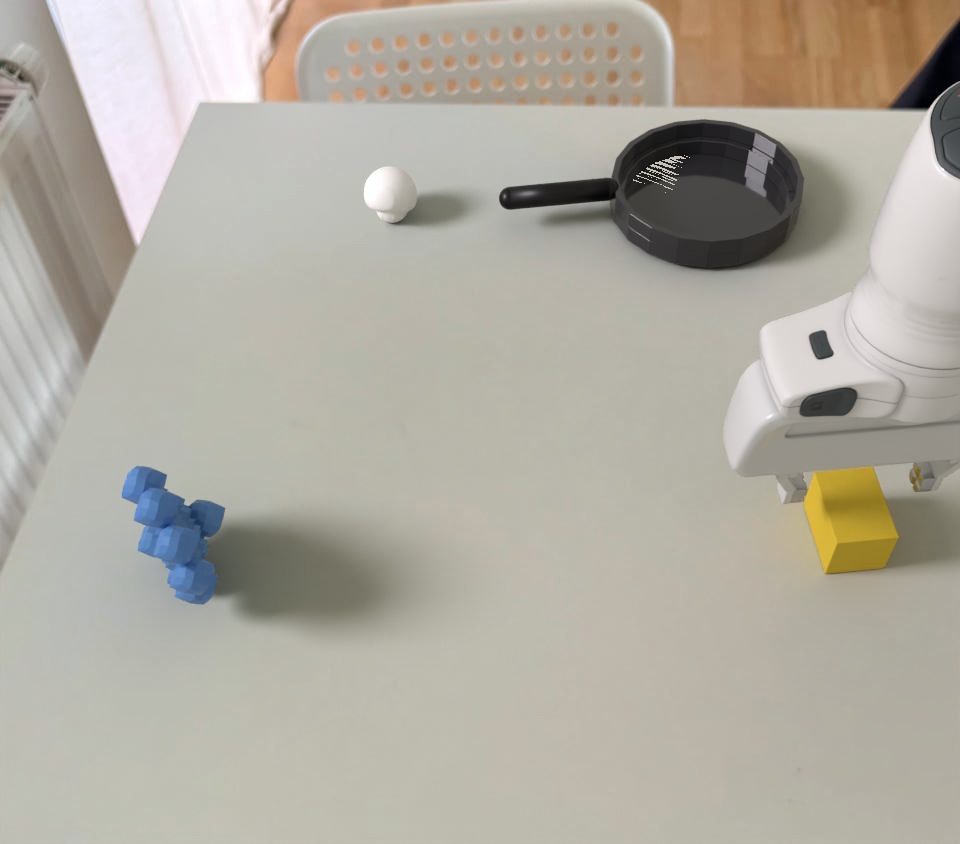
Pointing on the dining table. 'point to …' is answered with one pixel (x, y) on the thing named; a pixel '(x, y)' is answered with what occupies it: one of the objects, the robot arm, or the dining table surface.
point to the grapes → (175, 532)
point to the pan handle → (558, 193)
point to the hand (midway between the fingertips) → (855, 490)
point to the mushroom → (390, 193)
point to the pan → (707, 193)
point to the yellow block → (850, 520)
